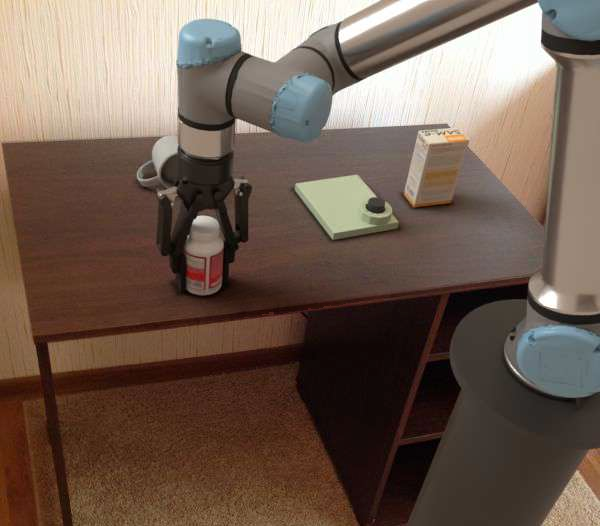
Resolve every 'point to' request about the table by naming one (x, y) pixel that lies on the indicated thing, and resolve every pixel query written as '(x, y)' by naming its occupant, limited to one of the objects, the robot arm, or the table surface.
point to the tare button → (376, 205)
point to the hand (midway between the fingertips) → (201, 282)
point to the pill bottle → (204, 256)
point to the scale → (344, 206)
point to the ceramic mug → (161, 163)
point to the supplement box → (435, 166)
